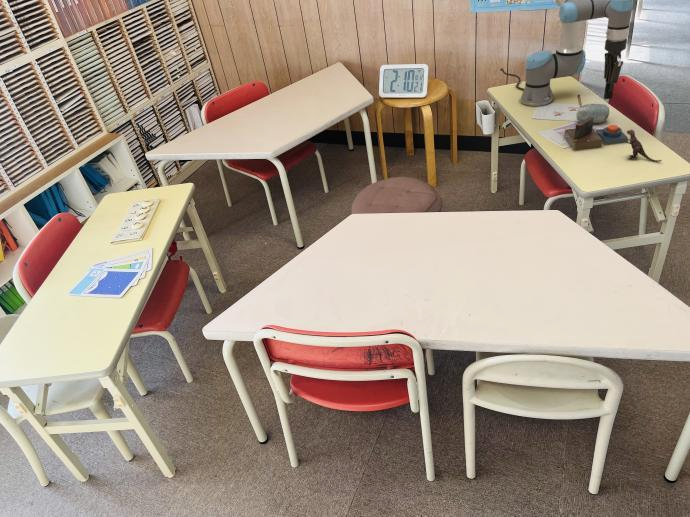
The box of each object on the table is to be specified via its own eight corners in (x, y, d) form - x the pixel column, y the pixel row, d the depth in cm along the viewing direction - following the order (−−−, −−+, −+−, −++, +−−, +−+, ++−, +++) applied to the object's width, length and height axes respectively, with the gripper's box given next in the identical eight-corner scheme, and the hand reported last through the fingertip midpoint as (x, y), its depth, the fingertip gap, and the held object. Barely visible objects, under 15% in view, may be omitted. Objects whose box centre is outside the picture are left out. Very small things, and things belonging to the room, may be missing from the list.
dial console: (560, 137, 236) (561, 129, 234) (593, 133, 234) (594, 125, 232) (570, 151, 224) (571, 143, 222) (605, 147, 223) (606, 139, 221)
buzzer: (595, 134, 233) (596, 125, 230) (617, 131, 232) (618, 123, 229) (605, 145, 224) (606, 136, 222) (627, 142, 223) (628, 133, 221)
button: (605, 129, 228) (606, 125, 227) (615, 128, 227) (616, 124, 226) (609, 133, 224) (609, 129, 223) (619, 131, 224) (619, 128, 223)
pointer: (587, 129, 230) (589, 116, 226) (592, 130, 229) (594, 117, 225) (574, 138, 226) (575, 124, 222) (578, 139, 224) (580, 125, 221)
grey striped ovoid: (610, 109, 243) (607, 95, 235) (611, 125, 239) (608, 112, 231) (577, 115, 250) (574, 102, 242) (578, 132, 246) (575, 119, 238)
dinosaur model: (628, 127, 209) (670, 134, 201) (622, 153, 216) (662, 161, 209) (625, 132, 206) (667, 139, 199) (619, 158, 214) (659, 166, 206)
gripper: (600, 35, 210) (592, 93, 224) (612, 45, 199) (604, 105, 213) (620, 32, 209) (611, 91, 223) (633, 42, 198) (623, 102, 212)
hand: (607, 98), depth 218 cm, fingers closed
